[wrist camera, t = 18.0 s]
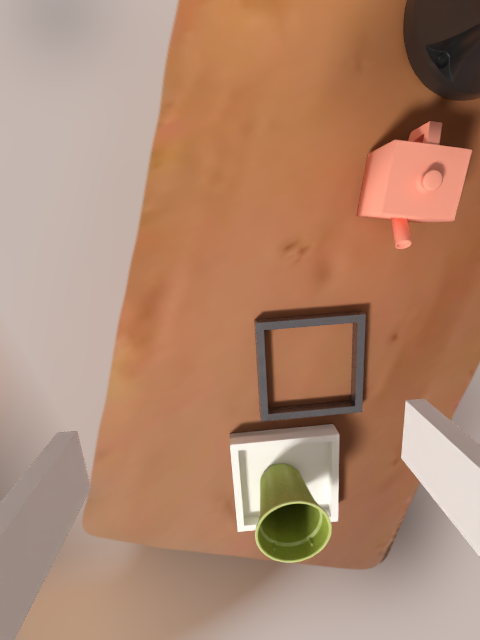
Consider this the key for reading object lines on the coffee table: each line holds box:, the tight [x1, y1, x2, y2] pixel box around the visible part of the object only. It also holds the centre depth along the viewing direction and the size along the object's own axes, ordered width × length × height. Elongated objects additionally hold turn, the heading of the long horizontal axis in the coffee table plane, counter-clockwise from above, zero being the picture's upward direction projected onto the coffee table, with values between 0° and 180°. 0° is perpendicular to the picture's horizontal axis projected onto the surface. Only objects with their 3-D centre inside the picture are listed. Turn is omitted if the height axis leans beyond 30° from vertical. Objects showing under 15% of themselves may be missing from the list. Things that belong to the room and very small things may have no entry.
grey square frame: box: [254, 311, 366, 421], centre depth 43 cm, size 14×14×2 cm
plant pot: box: [255, 464, 332, 562], centre depth 43 cm, size 9×9×9 cm
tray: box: [230, 424, 339, 532], centre depth 47 cm, size 15×15×2 cm
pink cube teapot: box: [357, 121, 472, 249], centre depth 34 cm, size 8×12×8 cm, turn 174°
